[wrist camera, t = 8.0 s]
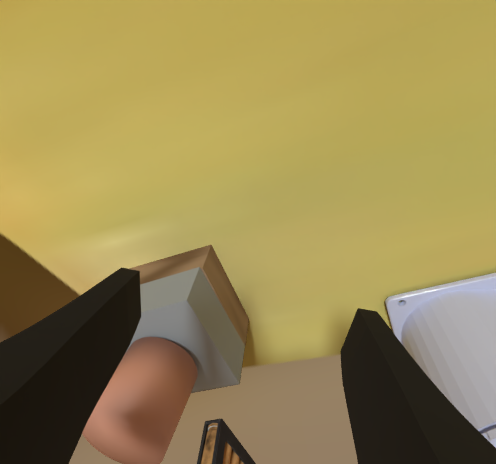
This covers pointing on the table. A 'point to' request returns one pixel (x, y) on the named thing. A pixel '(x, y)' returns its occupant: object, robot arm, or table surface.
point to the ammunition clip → (221, 445)
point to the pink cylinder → (142, 402)
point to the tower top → (193, 326)
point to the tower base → (213, 274)
